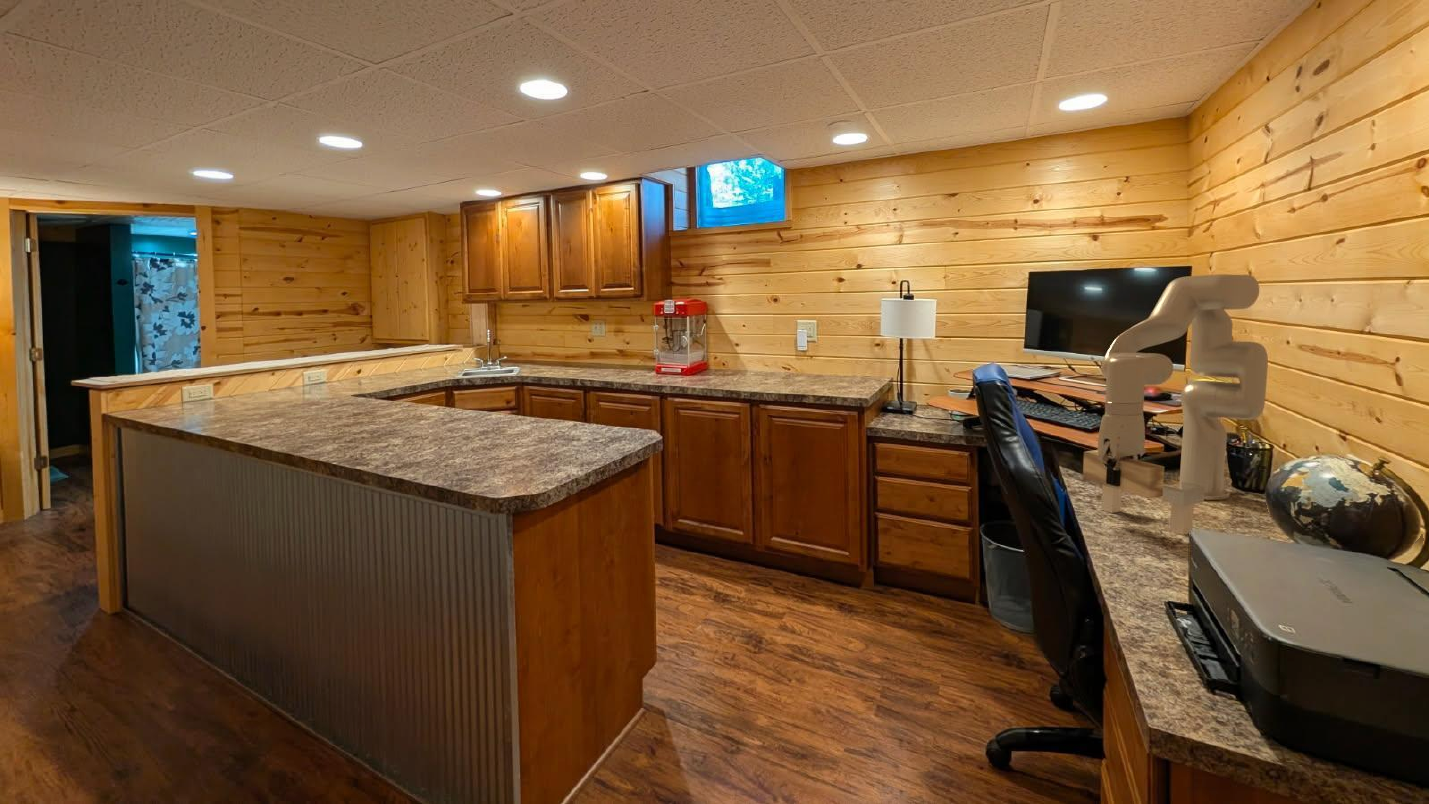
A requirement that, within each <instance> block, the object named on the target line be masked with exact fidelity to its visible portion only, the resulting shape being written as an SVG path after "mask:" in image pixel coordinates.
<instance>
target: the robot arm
mask: <svg viewBox="0 0 1429 804" xmlns="http://www.w3.org/2000/svg"><path fill="white" fill-rule="evenodd" d="M1259 295H1260V285H1259V282H1258V281H1257V279H1256V278H1255V277H1254V276H1253V275H1251V274H1227V273H1226V274H1223V273H1222V274H1207V275H1190V276H1188V275H1187V276H1182V277H1178V278H1175V279H1173V280H1171V281H1170V282H1169V283H1168V284H1167V285H1166V287H1165V289H1164V291H1163V292H1162V294H1161V295H1160V297H1159V299H1158V301H1157V303H1156V304H1155V307H1154V308H1153V310H1152V311H1151V313H1150V315H1149V316H1148V318H1146V319H1144V320H1142V321H1140V322H1138V323H1137V324H1134V325H1133V326H1131V327H1130V328H1128V329H1126V330H1125V331H1124V332H1122V333H1121V334H1119V335H1117V337H1116V338H1115V339H1114V340H1113V341H1112V343H1111V344H1110V346H1109V348H1108V350H1107V351H1106V353H1105V355H1104V357H1103V360H1102V361H1101V368H1100V369H1101V374H1102V376H1103V379H1106V382H1105V384H1106V385H1105V402H1104V403H1105V405H1104V407H1105V408H1104V414H1103V415H1102V418H1101V420H1100V421H1101V422H1100V425H1099V431H1098V441H1097V450H1098V453H1099V456H1098V459H1099V460H1100V461H1101V462H1103V464H1104V465H1105V468H1107V472H1106V483H1107V484H1109V485H1113V486H1117V487H1118V486H1120V477H1121V470H1118V469H1119V465H1120V460H1121V458H1122V457H1127V458H1132V459H1136V460H1140V461H1141V458H1142V456H1143V455H1144V454H1145V453H1146V448H1145V445H1146V444H1145V443H1146V426H1145V417H1144V405H1145V404H1144V400H1145V386H1146V385H1147V386H1159V385H1163V383H1165V382H1167V381H1168V380H1169V379H1170V378H1171V377H1172V375H1173V372H1174V364H1173V362H1172V360H1171V358H1170V357H1168V356H1167V355H1165V354H1161V353H1155V352H1154V353H1153V352H1152V353H1151V352H1147V353H1146V352H1139V351H1141V350H1143V349H1146V348H1149V347H1154V346H1157V345H1161V344H1164V343H1167V342H1171V341H1174V340H1176V339H1180V338H1181V337H1182V336H1184V335H1185V334H1186V332H1188V329H1189V327H1190V326H1191V340H1190V354H1189V355H1190V356H1189V357H1190V359H1189V361H1190V362H1189V365H1190V369H1191V371H1192V372H1193V374H1195V375H1199V376H1204V377H1213V378H1215V377H1216V378H1231V379H1233V378H1235V379H1238V381H1239V382H1227V381H1215V380H1195V381H1191V382H1190V383H1187V384H1186V385H1184V387H1183V388H1182V389H1181V393H1180V402H1181V409H1182V417H1183V418H1182V419H1183V424H1182V426H1183V428H1182V440H1181V442H1182V443H1181V456H1180V471H1179V483H1178V484H1174V485H1172V487H1174V488H1178V489H1182V482H1185V483H1190V484H1194V485H1198V486H1203V487H1205V491H1204V501H1205V500H1206V501H1208V500H1209V501H1223V500H1227V499H1229V498H1230V497H1231V496H1230V494H1231V493H1230V492H1229V491H1228V490H1226V489H1224V488H1225V486H1228V485H1231V484H1232V483H1233V480H1232V478H1230V477H1225V465H1226V454H1227V453H1226V451H1227V439H1228V434H1227V430H1226V427H1225V426H1224V425H1223V422H1222V421H1221V420H1220V419H1219V418H1224V419H1233V420H1234V419H1235V420H1242V421H1243V420H1244V421H1248V420H1249V421H1250V420H1256V419H1258V418H1259V417H1260V416H1261V415H1262V413H1263V411H1264V409H1265V405H1266V403H1265V402H1266V393H1267V381H1268V380H1267V379H1268V368H1269V364H1268V363H1269V358H1268V352H1267V350H1266V348H1265V346H1264V345H1263V344H1261V343H1258V342H1255V341H1240V340H1239V341H1235V340H1233V320H1232V318H1231V317H1230V315H1229V314H1228V313H1227V311H1226V310H1247V309H1248V308H1251V307H1252V306H1253V305H1254V304H1255V303H1256V302H1257V300H1258V297H1259ZM1112 454H1113V455H1112ZM1112 459H1115V461H1114V462H1113V461H1112Z"/></svg>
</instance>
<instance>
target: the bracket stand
mask: <svg viewBox="0 0 1429 804" xmlns="http://www.w3.org/2000/svg"><path fill="white" fill-rule="evenodd" d="M1094 483H1095V484H1098V485H1100V484H1099V483H1096V482H1094ZM1101 486H1102V489H1101V490H1102V491H1101V508H1100V509H1101V510H1102V511H1105V512H1107V513H1111V514H1113V513H1120V512H1121V509H1122V492H1123V491H1122V490H1119V489H1115V488H1112V487H1109V486H1106V485H1101ZM1204 491H1205V487H1203V486H1198V485H1194V484H1190V483H1185V482H1182V489H1178V488H1174V487H1173V486H1170V485H1163V496H1162V502H1167V503H1170V504H1171V509H1170V520H1169V522H1170V523H1169V531H1170V532H1172V533H1176V534H1179V535H1182V536H1183V535H1189V534H1188V533H1189V531H1190V530H1192V531H1193V525H1194V513H1195V512H1194V509H1195V505H1197V504H1201V503H1202V504H1203V503H1204V501H1205V499H1204Z"/></svg>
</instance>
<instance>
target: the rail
mask: <svg viewBox="0 0 1429 804" xmlns="http://www.w3.org/2000/svg"><path fill="white" fill-rule="evenodd" d="M1112 455H1113V454H1112ZM1098 456H1099V453H1098V449H1095V450H1088V451H1087V450H1086V451H1084V452H1083V471H1082V473H1083V474H1082V479H1083V480H1085V481H1090V482H1092V483H1095V482H1096V483H1095V484H1098V483H1099V484H1098V485H1101V486H1103V485H1106V486H1109V487H1112V488H1115V489H1119V490H1122V492H1126V493H1130V494H1132V495H1135V496H1139V497H1142V498H1145V499H1156V498H1163V487H1164V481H1165V480H1164V479H1165V466H1163V465H1159V464H1155V463H1151V462H1147V461H1144V460H1141V459H1140V460H1136V459H1132V458H1127V457H1122V458H1121V460H1120V465H1119V469H1118V470H1121V477H1120V486H1118V487H1117V486H1113V485H1109V484H1107V483H1106V472H1107V468H1105V465H1104V464H1103V462H1101V461H1100V460H1099V459H1098ZM1112 461H1113V462H1114V461H1115V459H1112Z"/></svg>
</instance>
